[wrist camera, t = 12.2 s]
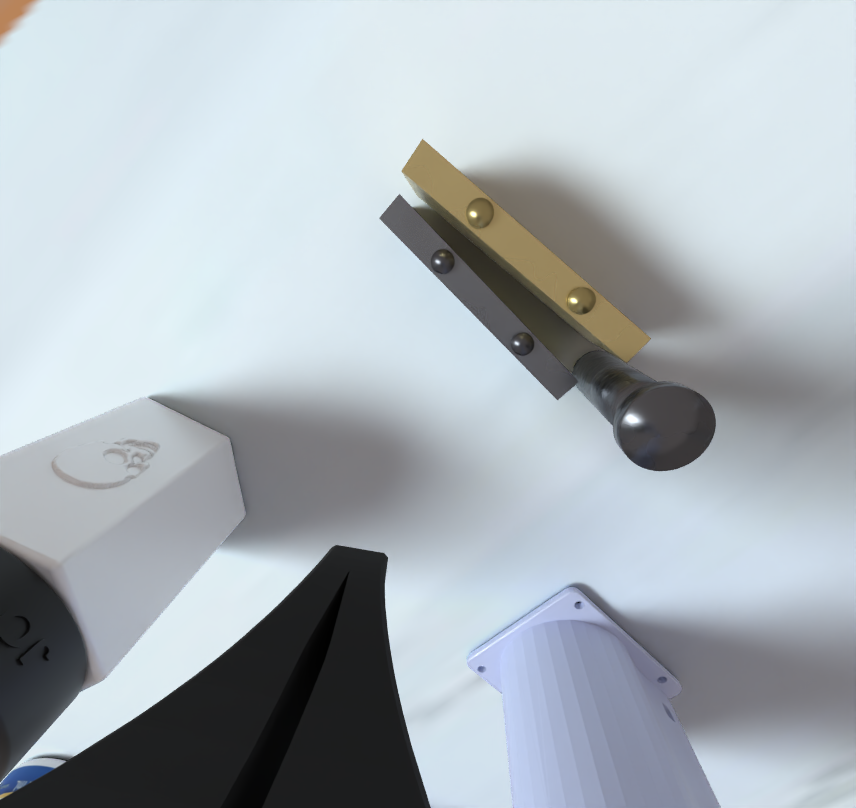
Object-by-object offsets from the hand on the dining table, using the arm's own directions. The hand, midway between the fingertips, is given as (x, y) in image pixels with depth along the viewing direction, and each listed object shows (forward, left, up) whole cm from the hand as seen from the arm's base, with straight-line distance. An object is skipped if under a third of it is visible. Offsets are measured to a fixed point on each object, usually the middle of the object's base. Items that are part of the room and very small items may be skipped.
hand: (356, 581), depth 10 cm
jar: (+7, +11, -10) cm, 16 cm away
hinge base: (+1, -8, -10) cm, 13 cm away
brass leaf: (+2, -9, -10) cm, 13 cm away
